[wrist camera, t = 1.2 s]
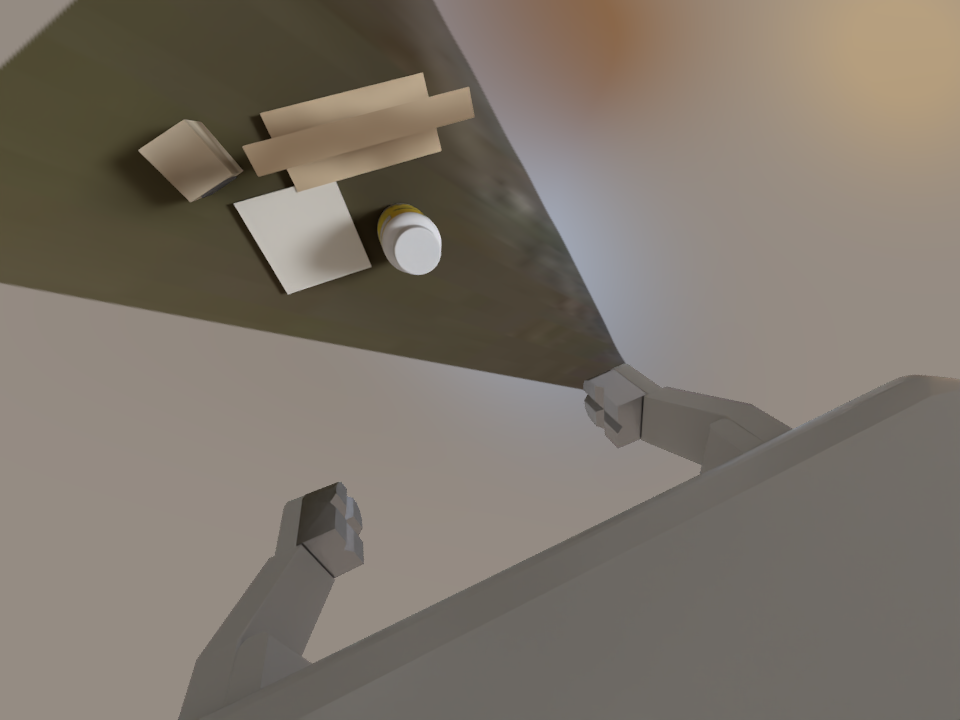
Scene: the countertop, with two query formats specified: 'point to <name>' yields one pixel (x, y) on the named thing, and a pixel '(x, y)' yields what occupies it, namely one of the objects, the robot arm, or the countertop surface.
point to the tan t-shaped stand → (356, 131)
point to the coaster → (305, 235)
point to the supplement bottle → (409, 239)
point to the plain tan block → (191, 160)
